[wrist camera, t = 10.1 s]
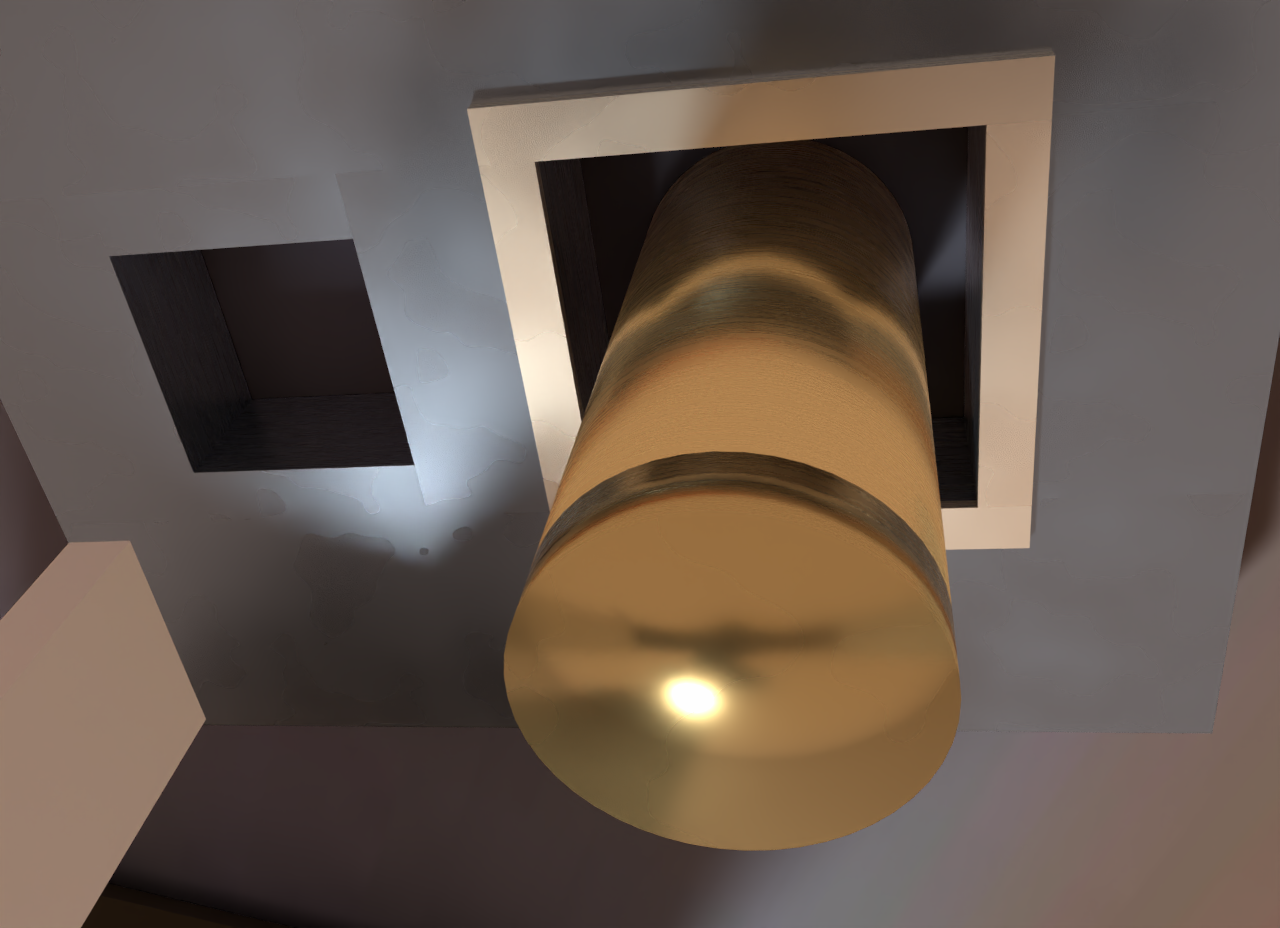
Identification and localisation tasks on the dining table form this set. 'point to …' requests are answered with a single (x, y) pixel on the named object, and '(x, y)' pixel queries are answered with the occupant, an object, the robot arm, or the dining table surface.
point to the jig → (576, 326)
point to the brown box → (161, 913)
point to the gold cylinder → (750, 524)
